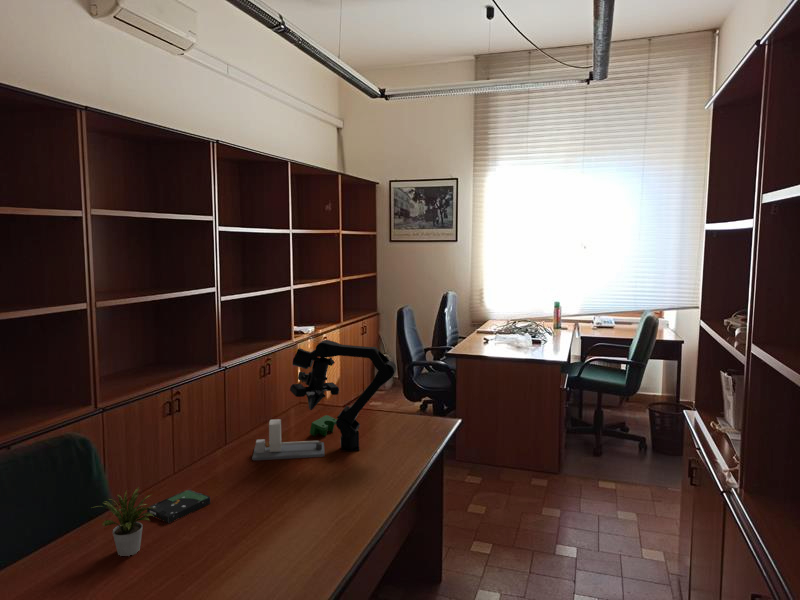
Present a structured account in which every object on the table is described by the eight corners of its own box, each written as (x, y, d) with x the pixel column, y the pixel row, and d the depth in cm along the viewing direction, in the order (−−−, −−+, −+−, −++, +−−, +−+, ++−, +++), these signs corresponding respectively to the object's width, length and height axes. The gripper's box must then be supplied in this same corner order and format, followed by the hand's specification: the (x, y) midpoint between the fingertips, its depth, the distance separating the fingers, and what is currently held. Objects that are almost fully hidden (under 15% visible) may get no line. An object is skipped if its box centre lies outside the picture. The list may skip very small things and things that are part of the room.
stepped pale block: (281, 446, 219) (280, 419, 218) (280, 451, 213) (280, 424, 212) (270, 446, 218) (270, 419, 217) (269, 452, 212) (268, 424, 211)
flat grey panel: (324, 444, 224) (323, 432, 224) (324, 456, 213) (324, 443, 212) (255, 448, 221) (255, 435, 220) (252, 460, 209) (251, 447, 208)
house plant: (108, 576, 138) (104, 512, 136) (84, 555, 147) (80, 494, 145) (165, 552, 149) (162, 491, 147) (140, 533, 158) (137, 476, 156)
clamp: (322, 446, 234) (321, 430, 229) (310, 441, 237) (309, 425, 232) (338, 428, 243) (338, 412, 238) (327, 422, 246) (326, 407, 241)
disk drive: (169, 526, 163) (211, 504, 176) (168, 516, 163) (210, 496, 176) (146, 516, 169) (188, 496, 181) (146, 507, 168) (188, 487, 181)
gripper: (329, 363, 231) (321, 398, 235) (287, 364, 220) (279, 401, 223) (343, 375, 223) (335, 411, 227) (300, 376, 211) (292, 415, 215)
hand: (310, 409), depth 223 cm, fingers closed
